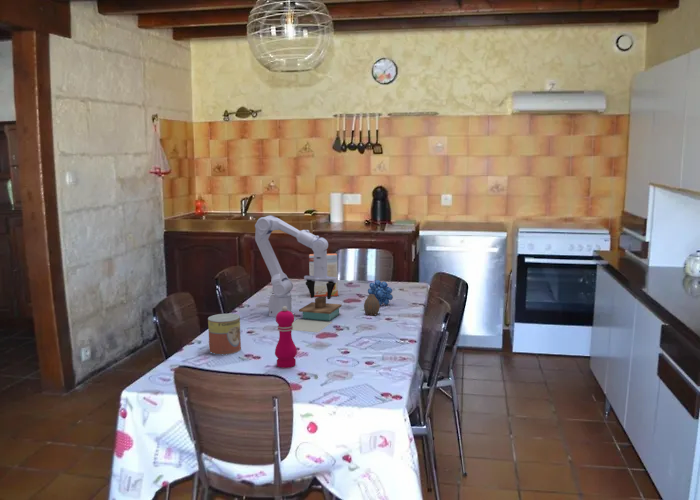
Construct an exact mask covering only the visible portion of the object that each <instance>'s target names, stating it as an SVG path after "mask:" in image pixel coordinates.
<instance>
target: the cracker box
mask: <svg viewBox="0 0 700 500" xmlns="http://www.w3.org/2000/svg"><path fill="white" fill-rule="evenodd" d="M308 264H309V265H308V267H309V269H308V271H309V275H308V276H314V253H310V254H308ZM338 270H339V269H338V254H337V253H335V252H334V253H327V276H329V277H336V278H337V282H336V284H335V286H334V288H333V291H332V294H331V297H338V296H339V284H338V283H339V278H338V277H339V275H338V274H339V273H338ZM326 283H328V282H321V281H315V286H314V297H313V298H315V297H316V298H317V297H319V296H321V297H327V285H326ZM309 296H310V298H311V295H310V294H309Z"/></svg>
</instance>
